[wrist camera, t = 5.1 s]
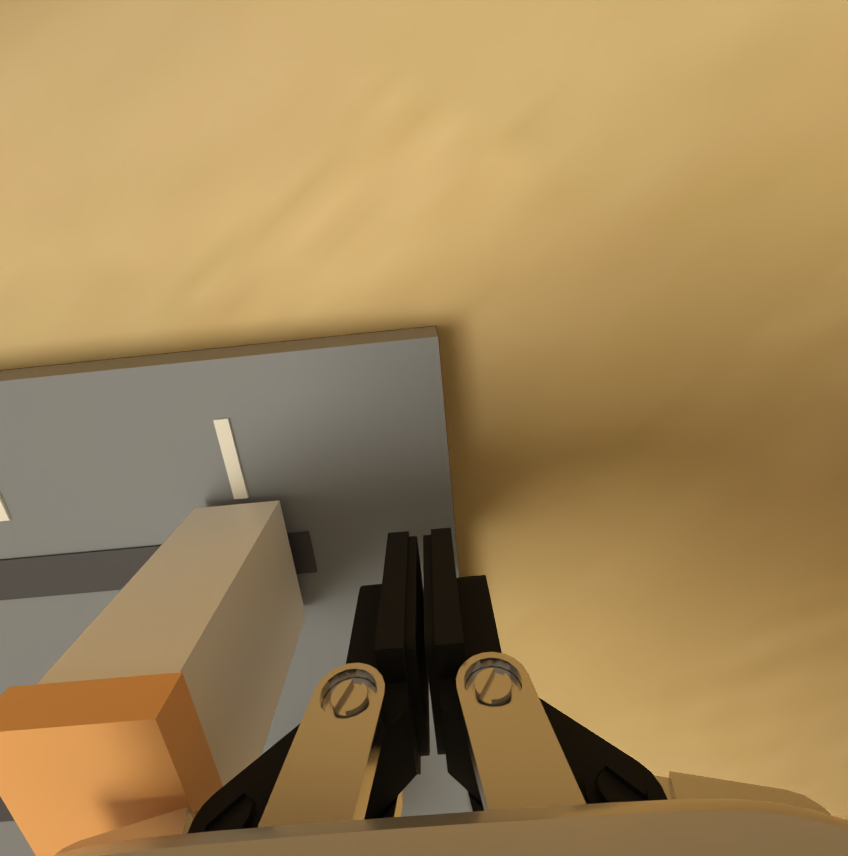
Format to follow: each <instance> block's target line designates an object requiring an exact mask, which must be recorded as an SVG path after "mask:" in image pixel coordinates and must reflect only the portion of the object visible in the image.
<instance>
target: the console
mask: <svg viewBox="0 0 848 856" xmlns="http://www.w3.org/2000/svg"><path fill="white" fill-rule="evenodd" d="M278 500H279V501H280V505H281V509H282V514H283V518H284V522H285V527H286V531H287V535H288V540H289V544H290V548H291V553H292V557H293V561H294V566H295V570H296V575H297V579H298V583H299V588H300V592H301V596H302V601H303V605H304V609H305V614H306V617H305V620H304V623H303V626H302V629H301V633H300V636H299V639H298V642H297V645H296V648H295V651H294V654H293V658H292V661H291V664H290V667H289V670H288V673H287V676H286V680H285V683H284V686H283V689H282V692H281V695H280V698H279V701H278V705H277V708H276V711H275V714H274V717H273V720H272V723H271V726H270V730H269V733H268V736H267V739H266V742H265V745H264V748H263V751H262V754H263V753H265V752H266V751H267V750H268V749H269V748H271V747H272V746H273V745H274V744H276V743H277V742H278V741H279V740H280V739H282V738H283V737H284V736H285V735H287V734H288V733H289V732H290V731H291V730H293V729H294V728H295V727H296V726H298V725H299V724H300V723H301V721H302V718H303V716H304V713H305V711H306V708H307V706H308V704H309V701H310V699H311V696H312V694H313V691H314V689H315V688H316V686H317V684H318V683H319V681H320V680H321V679H322V678H323V677H324V676H325V675H326V674H327V673H328V672H330V671H332V670H333V669H335V668H337V667H339V666H342V665H345V664H346V660H347V654H348V649H349V644H350V638H351V633H352V627H353V622H354V616H355V611H356V605H357V600H358V594H359V590H360V587H361V586H363V585H375V584H382V579H383V570H384V562H385V553H386V545H387V536H388V533H392V532H404V531H409V535H410V536H417V539H418V547H419V556H420V565H421V573H422V582H423V590H424V573H423V535H431V529H438V528H449V527H451V533H452V542H453V551H454V560H455V569H456V577H457V578H458V577H459V566H458V555H457V544H456V533H455V522H454V511H453V500H452V488H451V477H450V466H449V455H448V444H447V433H446V421H445V410H444V399H443V388H442V377H441V366H440V354H439V343H438V335H437V330H436V326H430V327H420V328H410V329H401V330H391V331H381V332H371V333H362V334H352V335H342V336H332V337H323V338H313V339H303V340H293V341H284V342H274V343H264V344H254V345H245V346H235V347H225V348H215V349H206V350H196V351H186V352H176V353H166V354H157V355H147V356H137V357H127V358H118V359H108V360H98V361H88V362H79V363H69V364H59V365H49V366H40V367H30V368H20V369H10V370H1V371H0V696H1V695H2V694H3V693H4V692H5V691H6V690H7V689H8V688H9V687H13V686H25V685H36V684H37V683H38V682H39V681H40V679H41V678H42V677H43V676H44V675H45V674H46V673H47V672H48V671H49V669H50V668H51V667H52V666H53V665H54V664H55V663H56V662H57V661H58V659H59V658H60V657H61V656H62V655H63V654H64V653H65V652H66V651H67V649H68V648H69V647H70V646H71V645H72V644H73V643H74V642H75V641H76V639H77V638H78V637H79V636H80V635H81V634H82V633H83V632H84V631H85V629H86V628H87V627H88V626H89V625H90V624H91V623H92V622H93V621H94V619H95V618H96V617H97V616H98V615H99V614H100V613H101V612H102V611H103V610H104V608H105V607H106V606H107V605H108V604H109V603H110V602H111V601H112V600H113V598H114V597H115V596H116V595H117V594H118V593H119V592H120V591H121V590H122V588H123V587H124V586H125V585H126V584H127V583H128V582H129V581H130V580H131V578H132V577H133V576H134V575H135V574H136V573H137V572H138V571H139V570H140V568H141V567H142V566H143V565H144V564H145V563H146V562H147V561H148V560H149V558H150V557H151V556H152V555H153V554H154V553H155V552H156V551H157V550H158V548H159V547H160V546H161V545H162V544H163V543H164V542H165V541H166V540H167V538H168V537H169V536H170V535H171V534H172V533H173V532H174V531H175V530H176V528H177V527H178V526H179V525H180V524H181V523H182V522H183V521H184V520H185V518H186V517H187V516H188V515H189V514H190V513H191V512H192V511H193V510H194V508H203V507H213V506H224V505H235V504H246V503H256V502H267V501H278ZM429 723H430V755H429V756H421V774H418V775H416V776H415V777H414V778H413V780H412V781H411V782H410V783H409V784H408V785H407V786H406V787H405V788H404V789H403V806H402V812H401V817H405V816H418V815H433V814H447V813H461V812H470V809H469V805H468V800H467V790H466V789H465V788H464V787H463V786H462V785H461V784H460V783H459V782H457V781H456V780H455V779H454V778H453V777H452V776H451V775H450V774H449V773H448V770H447V762H446V754H443V755H438V753H437V746H436V737H435V729H434V721H433V713H432V705H431V697H430V689H429ZM0 856H36V855H35V853H34V852H33V850H32V848H31V847H30V845H29V843H28V842H27V840H26V838H25V837H24V835H23V833H22V832H21V830H20V828H19V827H18V825H17V823H16V822H15V820H14V818H13V817H12V815H11V813H10V812H9V810H8V808H7V807H6V805H5V803H4V802H3V800H2V798H1V797H0Z"/></svg>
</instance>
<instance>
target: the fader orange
mask: <svg viewBox="0 0 848 856" xmlns="http://www.w3.org/2000/svg"><path fill="white" fill-rule="evenodd" d="M305 617H306V614H305V609H304V605H303V601H302V596H301V592H300V588H299V583H298V579H297V575H296V570H295V566H294V561H293V557H292V553H291V548H290V544H289V540H288V535H287V531H286V527H285V522H284V518H283V514H282V509H281V505H280V501H279V500H278V501H267V502H256V503H246V504H235V505H224V506H213V507H203V508H194V510H193V511H192V512H191V513H190V514H189V515H188V516H187V517H186V518H185V520H184V521H183V522H182V523H181V524H180V525H179V526H178V527H177V528H176V530H175V531H174V532H173V533H172V534H171V535H170V536H169V537H168V538H167V540H166V541H165V542H164V543H163V544H162V545H161V546H160V547H159V548H158V550H157V551H156V552H155V553H154V554H153V555H152V556H151V557H150V558H149V560H148V561H147V562H146V563H145V564H144V565H143V566H142V567H141V568H140V570H139V571H138V572H137V573H136V574H135V575H134V576H133V577H132V578H131V580H130V581H129V582H128V583H127V584H126V585H125V586H124V587H123V588H122V590H121V591H120V592H119V593H118V594H117V595H116V596H115V597H114V598H113V600H112V601H111V602H110V603H109V604H108V605H107V606H106V607H105V608H104V610H103V611H102V612H101V613H100V614H99V615H98V616H97V617H96V618H95V619H94V621H93V622H92V623H91V624H90V625H89V626H88V627H87V628H86V629H85V631H84V632H83V633H82V634H81V635H80V636H79V637H78V638H77V639H76V641H75V642H74V643H73V644H72V645H71V646H70V647H69V648H68V649H67V651H66V652H65V653H64V654H63V655H62V656H61V657H60V658H59V659H58V661H57V662H56V663H55V664H54V665H53V666H52V667H51V668H50V669H49V671H48V672H47V673H46V674H45V675H44V676H43V677H42V678H41V679H40V681H39V682H38V683H37V684H36V685H25V686H13V687H9V688H8V689H7V690H6V691H5V692H4V693H3V694H2V695H1V696H0V797H1V798H2V800H3V802H4V803H5V805H6V807H7V808H8V810H9V812H10V813H11V815H12V817H13V818H14V820H15V822H16V823H17V825H18V827H19V828H20V830H21V832H22V833H23V835H24V837H25V838H26V840H27V842H28V843H29V845H30V847H31V848H32V850H33V852H34V853H35V855H36V856H53V855H55V854H56V853H58V852H59V851H60V850H62V849H63V848H65V847H67V846H69V845H71V844H73V843H76V842H78V841H80V840H83V839H86V838H90V837H93V836H96V835H99V834H102V833H106V832H109V831H112V830H115V829H118V828H122V827H125V826H128V825H131V824H134V823H137V822H141V821H144V820H147V819H150V818H153V817H157V816H160V815H163V814H166V813H169V812H173V811H176V810H179V809H182V808H185V807H188V809H189V811H190V813H192V812H195V811H198V810H200V808H201V807H202V805H203V804H204V803H205V802H206V801H207V800H208V799H209V798H210V797H211V796H212V795H213V794H214V793H216V792H217V791H218V790H219V789H221V788H222V787H223V786H224V785H225V784H227V783H228V782H229V781H230V780H232V779H233V778H234V777H235V776H236V775H238V774H239V773H240V772H241V771H243V770H244V769H245V768H246V767H247V766H249V765H250V764H251V763H252V762H254V761H255V760H256V759H257V758H258V757H260V756H261V755H262V751H263V748H264V745H265V742H266V739H267V736H268V733H269V730H270V726H271V723H272V720H273V717H274V714H275V711H276V708H277V705H278V701H279V698H280V695H281V692H282V689H283V686H284V683H285V680H286V676H287V673H288V670H289V667H290V664H291V661H292V658H293V654H294V651H295V648H296V645H297V642H298V639H299V636H300V633H301V629H302V626H303V623H304V620H305Z"/></svg>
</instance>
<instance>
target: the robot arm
mask: <svg viewBox="0 0 848 856" xmlns="http://www.w3.org/2000/svg"><path fill="white" fill-rule="evenodd" d="M423 573H424V590H423V582H422V573H421V565H420V556H419V547H418V539H417V536H410V535H409V531H404V532H392V533H388V536H387V545H386V553H385V562H384V570H383V579H382V584H375V585H363V586H361V587H360V590H359V594H358V600H357V605H356V611H355V616H354V622H353V627H352V633H351V638H350V644H349V649H348V654H347V660H346V664H345V665H342V666H339V667H337V668H335V669H333V670H332V671H330V672H328V673H327V674H326V675H325V676H324V677H323V678H322V679H321V680H320V681H319V683H318V684H317V686H316V688H315V689H314V691H313V694H312V696H311V699H310V701H309V704H308V706H307V708H306V711H305V713H304V716H303V718H302V721H301V723H300V724H299V725H298V726H296V727H295V728H294V729H293V730H291V731H290V732H289V733H288V734H287V735H285V736H284V737H283V738H282V739H280V740H279V741H278V742H277V743H276V744H274V745H273V746H272V747H271V748H269V749H268V750H267V751H266V752H265V753H263V754H262V755H261V756H260V757H258V758H257V759H256V760H255V761H254V762H252V763H251V764H250V765H249V766H247V767H246V768H245V769H244V770H243V771H241V772H240V773H239V774H238V775H236V776H235V777H234V778H233V779H232V780H230V781H229V782H228V783H227V784H225V785H224V786H223V787H222V788H221V789H219V790H218V791H217V792H216V793H214V794H213V795H212V796H211V797H210V798H209V799H208V800H207V801H206V802H205V803H204V804H203V805H202V807H201V808H200V810H198V811H195V812H192V813H190V811H189V809H188V807H185V808H182V809H179V810H176V811H173V812H169V813H166V814H163V815H160V816H157V817H153V818H150V819H147V820H144V821H141V822H137V823H134V824H131V825H128V826H125V827H122V828H118V829H115V830H112V831H109V832H106V833H102V834H99V835H96V836H93V837H90V838H86V839H83V840H80V841H78V842H76V843H73V844H71V845H69V846H67V847H65V848H63V849H62V850H60V851H59V852H58V853H56V854H55V855H53V856H848V820H846V819H842V818H839V817H836V816H833V815H831V814H830V813H829V812H828V811H827V810H826V809H824V808H823V807H822V806H821V805H819V804H817V803H816V802H814V801H812V800H811V799H809V798H807V797H806V796H804V795H801V794H798V793H795V792H791V791H788V790H784V789H778V788H771V787H765V786H759V785H753V784H746V783H740V782H734V781H727V780H721V779H715V778H709V777H702V776H696V775H690V774H683V773H677V772H671V771H669V778H666V777H660V776H654V775H653V774H652V773H651V772H650V771H649V770H648V769H647V768H645V767H644V766H643V765H642V764H640V763H639V762H638V761H636V760H635V759H633V758H632V757H630V756H629V755H627V754H625V753H624V752H622V751H621V750H619V749H618V748H616V747H615V746H613V745H611V744H610V743H608V742H607V741H605V740H604V739H602V738H601V737H599V736H598V735H596V734H594V733H593V732H591V731H590V730H588V729H587V728H585V727H584V726H582V725H580V724H579V723H577V722H576V721H574V720H573V719H571V718H570V717H568V716H566V715H565V714H563V713H562V712H560V711H559V710H557V709H556V708H554V707H553V706H551V705H549V704H548V703H546V702H545V701H543V700H542V699H540V698H539V697H538V695H537V692H536V690H535V688H534V686H533V684H532V681H531V679H530V677H529V675H528V673H527V671H526V670H525V668H524V667H523V665H522V664H521V663H519V662H518V661H517V660H516V659H515V658H513V657H511V656H508V655H506V654H503V653H502V652H501V648H500V643H499V638H498V633H497V628H496V623H495V618H494V614H493V609H492V604H491V599H490V594H489V589H488V584H487V580H486V576H485V575H481V576H469V577H458V578H457V577H456V569H455V560H454V551H453V542H452V533H451V527H449V528H438V529H431V535H423ZM429 689H430V697H431V705H432V713H433V721H434V729H435V737H436V746H437V753H438V755H443V754H446V762H447V770H448V773H449V774H450V775H451V776H452V777H453V778H454V779H455V780H456V781H457V782H459V783H460V784H461V785H462V786H463V787H464V788H465V789H466V790H467V800H468V805H469V809H470V812H461V813H447V814H433V815H418V816H405V817H401V812H402V806H403V789H404V788H405V787H406V786H407V785H408V784H409V783H410V782H411V781H412V780H413V778H414V777H415V776H416V775H418V774H421V756H429V755H430V723H429Z"/></svg>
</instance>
